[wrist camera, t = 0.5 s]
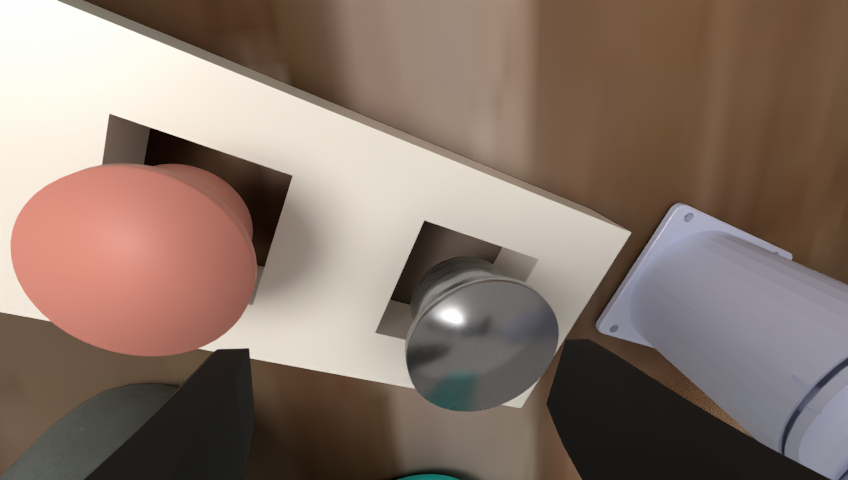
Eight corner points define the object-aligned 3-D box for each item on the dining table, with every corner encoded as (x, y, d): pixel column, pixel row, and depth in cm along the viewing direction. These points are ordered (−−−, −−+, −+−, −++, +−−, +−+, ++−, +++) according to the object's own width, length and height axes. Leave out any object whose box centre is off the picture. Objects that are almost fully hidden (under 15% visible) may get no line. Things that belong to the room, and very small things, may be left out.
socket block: (590, 209, 19) (631, 232, 16) (499, 366, 22) (520, 408, 19) (44, -16, 12) (-42, -40, 9) (21, 260, 15) (-49, 303, 12)
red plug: (291, 178, 12) (276, 211, 10) (250, 311, 14) (227, 371, 11) (101, 115, 11) (18, 132, 8) (79, 273, 12) (3, 333, 10)
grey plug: (543, 263, 16) (586, 306, 13) (486, 363, 17) (514, 420, 14) (426, 224, 14) (447, 263, 11) (375, 339, 16) (383, 398, 13)
